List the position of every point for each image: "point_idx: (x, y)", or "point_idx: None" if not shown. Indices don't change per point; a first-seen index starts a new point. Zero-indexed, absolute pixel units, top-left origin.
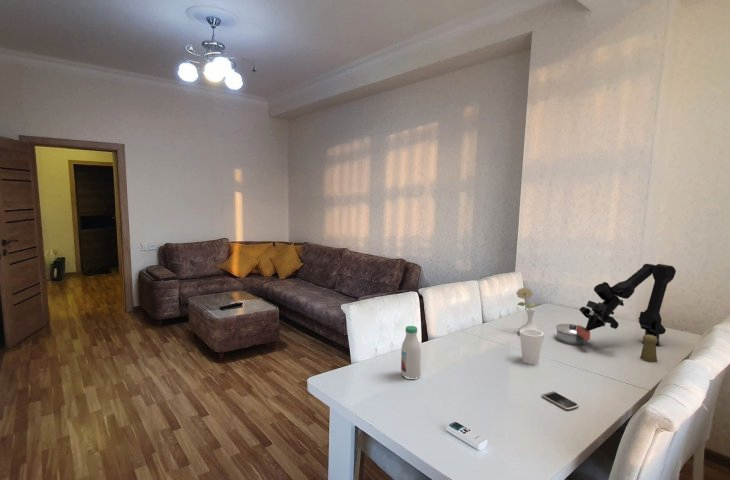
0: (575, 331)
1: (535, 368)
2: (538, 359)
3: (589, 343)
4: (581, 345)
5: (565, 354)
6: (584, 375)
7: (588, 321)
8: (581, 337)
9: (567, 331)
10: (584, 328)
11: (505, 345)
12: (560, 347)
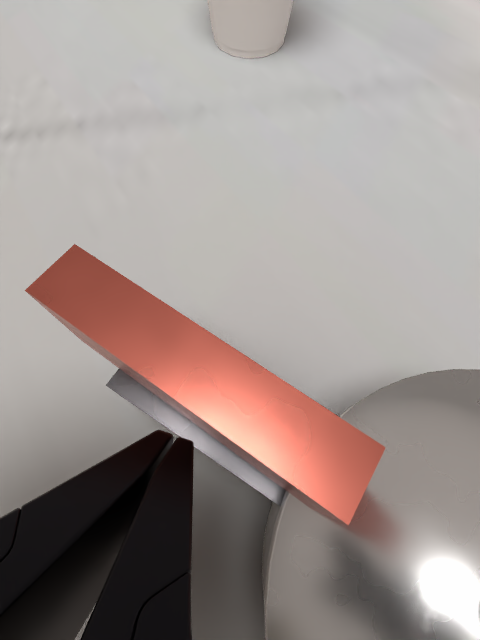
0: (392, 509)
1: (186, 10)
2: (213, 22)
3: (112, 382)
4: (271, 508)
5: (214, 219)
6: (6, 89)
7: (165, 623)
8: (265, 476)
9: (427, 395)
10: (182, 388)
11: (463, 74)
12: (320, 296)
